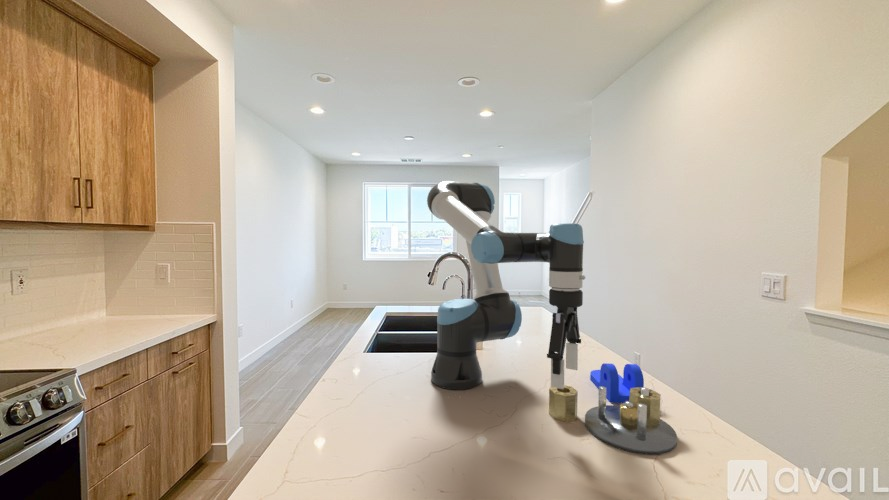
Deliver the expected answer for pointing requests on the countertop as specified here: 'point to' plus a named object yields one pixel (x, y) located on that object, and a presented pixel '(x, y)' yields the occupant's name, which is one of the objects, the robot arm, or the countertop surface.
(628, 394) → the bracket
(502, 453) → the countertop surface
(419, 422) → the countertop surface
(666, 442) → the carrier
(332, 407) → the countertop surface
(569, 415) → the octagonal wooden tube
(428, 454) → the countertop surface
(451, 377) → the robot arm
